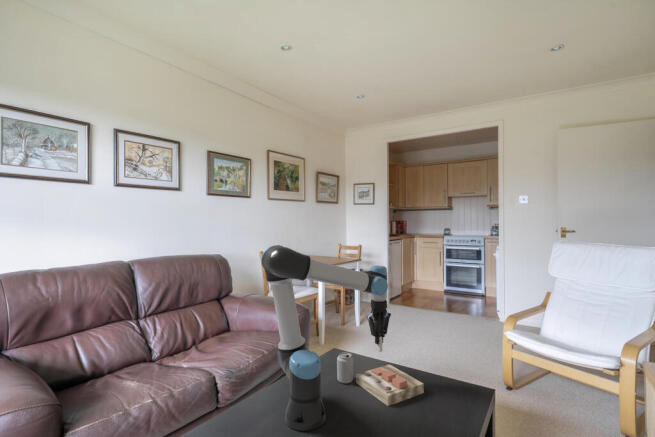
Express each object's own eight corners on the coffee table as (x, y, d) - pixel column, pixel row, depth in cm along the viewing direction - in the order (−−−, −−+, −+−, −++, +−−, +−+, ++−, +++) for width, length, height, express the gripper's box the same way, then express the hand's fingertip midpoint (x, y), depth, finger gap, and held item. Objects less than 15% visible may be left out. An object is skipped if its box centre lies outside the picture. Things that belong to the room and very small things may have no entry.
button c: (378, 381, 147) (378, 373, 147) (372, 377, 151) (372, 369, 151) (385, 378, 149) (385, 370, 149) (379, 375, 153) (379, 367, 153)
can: (353, 384, 147) (353, 358, 147) (337, 384, 147) (337, 357, 147) (352, 376, 155) (352, 351, 155) (337, 376, 155) (336, 351, 155)
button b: (388, 384, 141) (388, 376, 141) (381, 380, 145) (381, 372, 145) (395, 382, 143) (395, 373, 143) (389, 378, 147) (389, 370, 147)
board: (387, 406, 130) (387, 394, 130) (356, 383, 149) (356, 373, 149) (423, 392, 140) (423, 382, 140) (389, 372, 159) (389, 363, 159)
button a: (399, 392, 135) (399, 383, 135) (392, 387, 139) (392, 378, 139) (407, 389, 137) (407, 380, 137) (400, 384, 141) (399, 376, 141)
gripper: (372, 302, 144) (373, 356, 143) (395, 299, 150) (395, 350, 150) (362, 299, 150) (362, 350, 150) (384, 296, 157) (384, 345, 156)
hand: (379, 350), depth 150 cm, fingers closed
